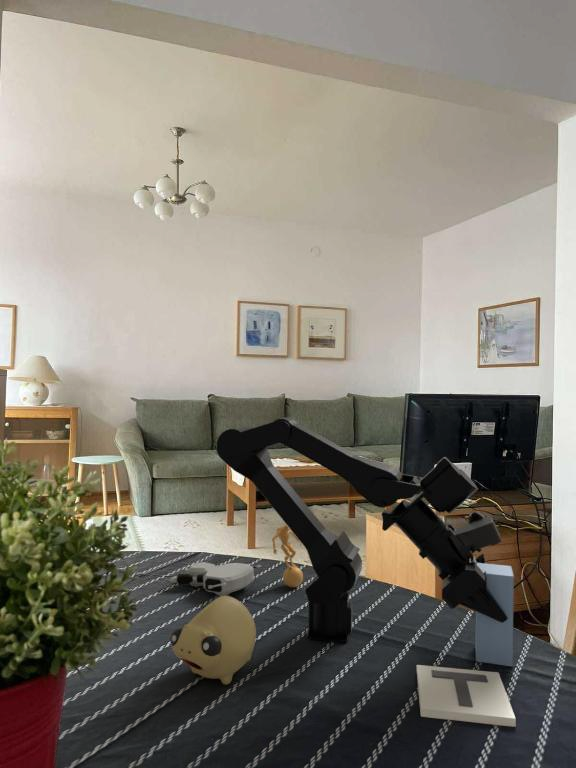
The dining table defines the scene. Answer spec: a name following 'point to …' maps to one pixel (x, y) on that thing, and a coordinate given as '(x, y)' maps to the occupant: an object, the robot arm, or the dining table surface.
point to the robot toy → (217, 577)
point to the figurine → (292, 573)
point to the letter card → (463, 696)
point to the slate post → (491, 633)
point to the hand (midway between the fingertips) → (504, 613)
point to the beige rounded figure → (217, 639)
